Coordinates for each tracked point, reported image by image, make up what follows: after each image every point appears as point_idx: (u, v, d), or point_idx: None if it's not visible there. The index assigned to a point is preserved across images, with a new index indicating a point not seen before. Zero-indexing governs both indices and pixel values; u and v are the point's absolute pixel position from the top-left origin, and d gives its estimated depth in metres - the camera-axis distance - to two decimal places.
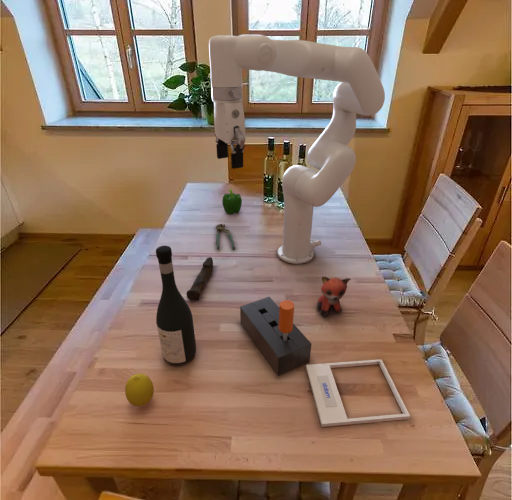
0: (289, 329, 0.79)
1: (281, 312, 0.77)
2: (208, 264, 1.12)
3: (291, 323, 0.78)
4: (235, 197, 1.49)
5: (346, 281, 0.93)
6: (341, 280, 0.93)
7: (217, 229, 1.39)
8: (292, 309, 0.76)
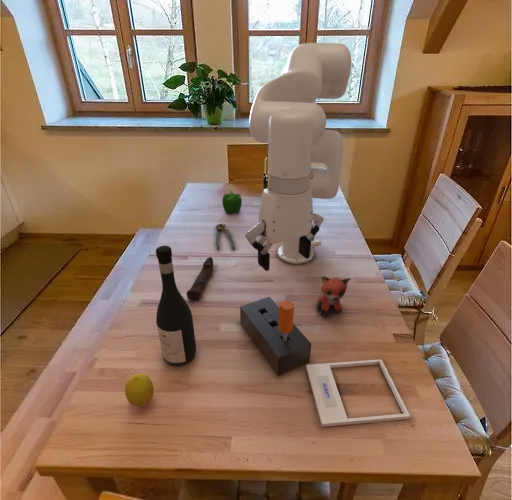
0: (289, 329, 0.79)
1: (281, 312, 0.77)
2: (208, 264, 1.12)
3: (291, 323, 0.78)
4: (235, 197, 1.49)
5: (346, 281, 0.93)
6: (341, 280, 0.93)
7: (217, 229, 1.39)
8: (292, 309, 0.76)
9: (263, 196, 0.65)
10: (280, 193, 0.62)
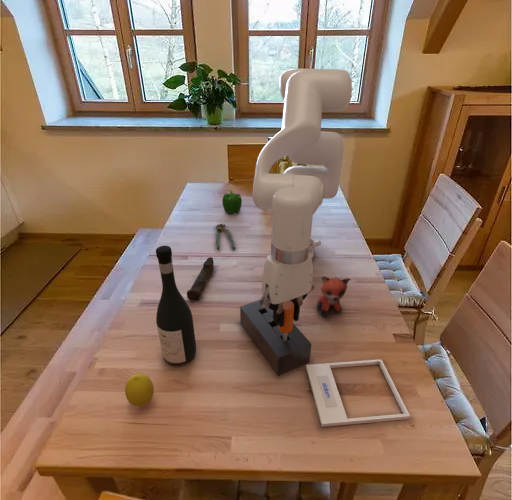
0: (289, 329, 0.79)
1: None
2: (208, 264, 1.12)
3: (291, 323, 0.78)
4: (235, 197, 1.49)
5: (346, 281, 0.93)
6: (341, 280, 0.93)
7: (217, 229, 1.39)
8: (292, 309, 0.76)
9: (267, 263, 0.70)
10: (282, 263, 0.67)
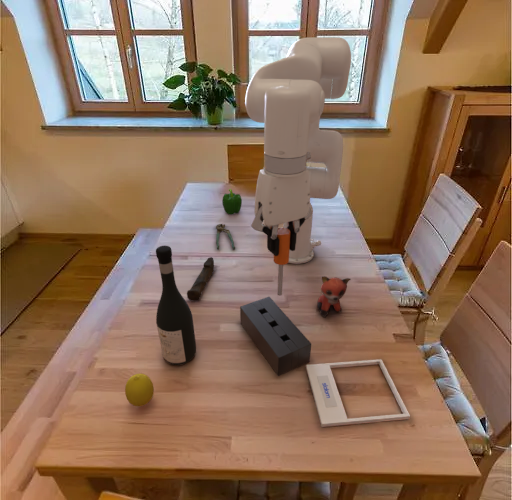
0: (285, 259, 0.72)
1: None
2: (209, 264, 1.12)
3: (287, 253, 0.72)
4: (235, 197, 1.49)
5: (346, 281, 0.93)
6: (341, 280, 0.93)
7: (217, 229, 1.39)
8: (288, 235, 0.69)
9: (259, 177, 0.63)
10: (277, 173, 0.60)
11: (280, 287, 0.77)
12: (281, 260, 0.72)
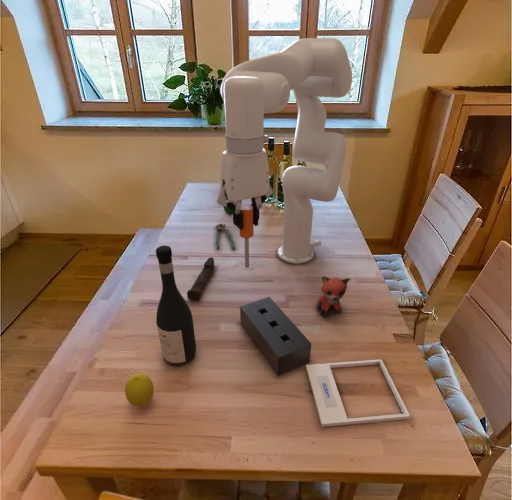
0: (249, 233, 0.80)
1: None
2: (209, 264, 1.12)
3: (251, 227, 0.80)
4: None
5: (346, 281, 0.93)
6: (341, 280, 0.93)
7: (217, 229, 1.39)
8: (251, 211, 0.78)
9: (222, 157, 0.72)
10: (236, 153, 0.69)
11: (247, 260, 0.85)
12: (246, 234, 0.80)
